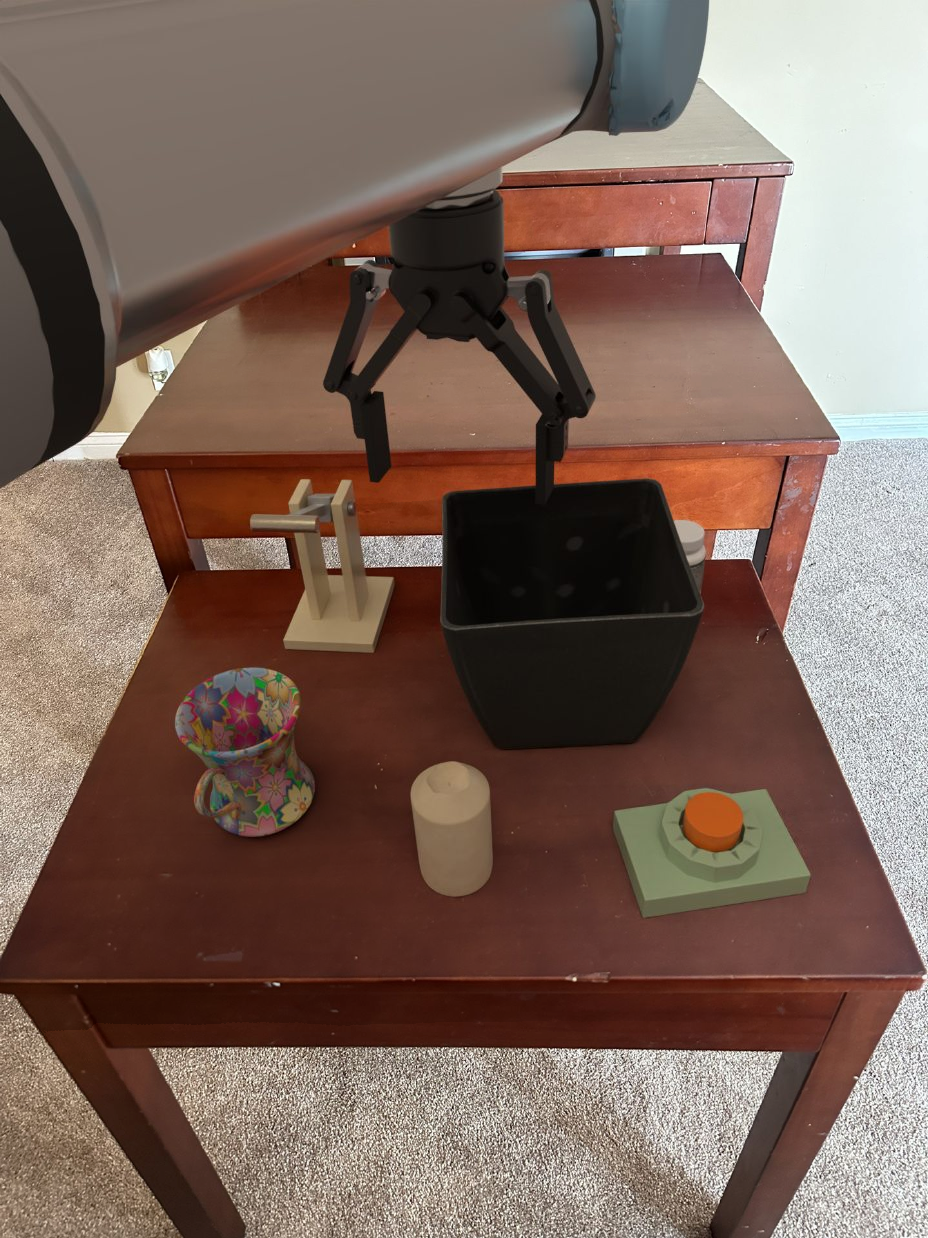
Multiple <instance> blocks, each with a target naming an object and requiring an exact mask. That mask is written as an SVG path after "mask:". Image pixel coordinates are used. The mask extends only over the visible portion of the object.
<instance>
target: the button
mask: <svg viewBox="0 0 928 1238" xmlns="http://www.w3.org/2000/svg"><path fill="white" fill-rule="evenodd" d="M742 824H743V813H742V811H741V809H740V807H739V806H738V804H737V803H736V802H735V801H733V800H732V799H731V798H729V797H727V796H725V795H723V794H720V793H715V792H704V793H700V794H697V795H695V796H693V797H692V798H691V799H690V800H689V801H688V803H687V805H686V808H685V814H684V820H683V830H684V833H685V835H686V837H687V838H688V839H689V841H690V842H691V843H693V844H694V845H695V846H697V847H699V848H701V849H703V850H707V851H712V852H721V851H725V850H728V849H730V848H732V847H733V846H734V845H735V844H736V843H737V842H738V840H739V837H740V833H741V828H742Z"/></svg>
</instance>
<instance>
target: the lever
mask: <svg viewBox="0 0 928 1238" xmlns="http://www.w3.org/2000/svg"><path fill="white" fill-rule="evenodd" d="M335 494H336V493H313V495H311V496H308V497H307V503H308V507H306V508H303V509H300V510H298V511H295V512H293V513H290V512H289V513H288V514H265V513H264V514H261V513H254V514H251V516H250V520H249V525H250V526H249V527H250V530H251V531H252V532H254V533H280V534H281V533H283V534H284V533H286V534H294V533H316V534H317V533H318V532H319V530H320V529H321V523H322V524H331V523H334V521H333V515H332V509H331V503H332V501H333V498H334V496H335Z"/></svg>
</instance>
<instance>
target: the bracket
mask: <svg viewBox="0 0 928 1238" xmlns="http://www.w3.org/2000/svg"><path fill="white" fill-rule="evenodd" d="M334 494H335V496H334V498H333V501H332V503H331V509H332V515H333V526H334V532H335V539H336V544H337V550H338V556H339V562H340V563H339V564H340V568H341V575H337V574H335V575H334V574H328V569H327V564H326V559H325V553H324V547H323V541H322V536H321V530H320V529H319V532H318V533H317V534H316V533H293V535H294V539H295V545H296V549H297V554H298V559H299V564H300V569H301V574H302V579H303V580H302V581H303V584H304V591H303V593H302V596H301V598H300V600H299V602H298V604H297V607H296V609H295V612H294V614H293V616H292V619H291V621H290V623H289V626H288V627H287V630H286V633H285V635H284V637H283V639H282V641H283V646H284V649H285V650H300V651H318V652H319V651H321V652H340V653H341V652H344V653H345V652H346V653H363V654H364V653H365V654H368V653H369V654H374V653H375V651H376V648H377V645H378V641H379V637H380V635H381V632H382V629H383V625H384V621H385V619H386V615H387V612H388V609H389V605H390V603H391V600H392V599H391V598H392V596H393V593H394V589H395V579H394V576H368V575H366V567H365V560H364V553H363V546H362V540H361V532H360V526H359V520H358V513H357V512H358V511H357V503H356V499H355V492H354V485H353V480H352V479H341V481H340V483H339V486H338V487H337V489H336V492H335V493H334ZM311 495H314V491H313V485H312V481H311V479H310V478H309V479H308V478H306V479H304V478H303V479H300V480H299V482H298V484H297V485H296V488H295V489H294V492H293V493H292V495H291V497H290V499H289V501H288V503H287V504H288V509H289V514H290V513H293V512H295V511H298V510H300V509H303V508H306V507H308V503H307V497H308V496H311Z"/></svg>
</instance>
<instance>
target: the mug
mask: <svg viewBox="0 0 928 1238" xmlns="http://www.w3.org/2000/svg"><path fill="white" fill-rule="evenodd" d="M301 708H302V698H301V692H300V690H299V688H298V686H297V684H295V682H294V681H293V680H292V679H290V678H289V677H288V676H287V675H285V674H283V673H281V672H279V671H276V670H273V669H270V668H264V667H241V668H235V669H231V670H227V671H224V672H220V673H218V674H216V675H214V676H211V677H209V678H207V679H206V680H203V681H202V682H200V683H199V684H198V685H196V686H195V687H194V688H193V689H191V690H190V691H189V692H188V694H186V696H185V697H184V698H183V699H182V700H181V702H180V704H179V706H178V708H177V710H176V714H175V717H174V718H175V719H174V727H175V732H176V734H177V737H178V738H179V740H180V742H181V743H182V744H183V745H184V746H185V747H186V748H188V749H189V750H190V751H192V752H193V753H195V754H196V756H198V757H199V759H200V760H202V762H203V763H204V765H205V767H206V768H207V770H206V771H205V772H204V773H203V774H202V775H201V777H200V778H199V780H198V782H197V785H196V787H195V791H194V795H193V804H194V808H195V810H196V811H197V812H198V813H199V815H201V816H203V817H205V818H209V819H213V820H214V821H215V822H216V824H217V825H218V826H219V827H220V828H222V829H223V830H225V831H226V832H227V833H230V834H233V835H236V836H240V837H246V838H247V837H249V838H255V837H256V838H258V837H265V836H268V835H273V834H275V833H279V832H281V831H283V830H285V829H287V828H288V827H291V825H293V824H295V823H296V822H297V821H298V820H299V819H300V818H301V817H302V816H303V815H304V814H305V813H306V812H307V811H308V809H309V808H310V806H311V805H312V802H313V799H314V796H315V792H316V781H315V778H314V775H313V773H312V771H311V769H310V768H309V767H308V765H307V764H306V763H304V761H302V760H301V759H300V757H299V756H298V753H297V750H296V747H295V729H296V724H297V721H298V718H299V715H300V713H301ZM211 780H212V789H211V791H210V797H209V810H210V811H209V810H208V809H207V807H206V805H205V795H206V791H207V788H208V786H209V784H210V782H211Z"/></svg>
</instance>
